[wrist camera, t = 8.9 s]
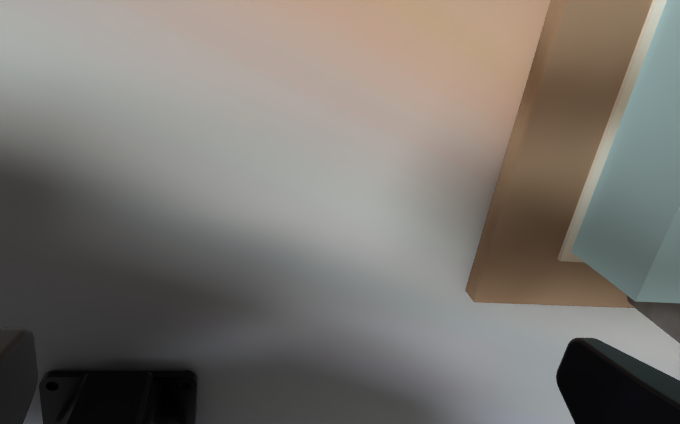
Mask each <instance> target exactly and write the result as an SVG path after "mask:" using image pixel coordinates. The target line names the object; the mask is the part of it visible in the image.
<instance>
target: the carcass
mask: <svg viewBox="0 0 680 424" xmlns="http://www.w3.org/2000/svg"><path fill="white" fill-rule="evenodd" d="M666 1H667V0H551V3H550V6H549V9H548V13H547V16H546V19H545V23H544V26H543V30H542V33H541V36H540V40H539V43H538V46H537V50H536V53H535V57H534V60H533V63H532V67H531V70H530V74H529V77H528V80H527V84H526V87H525V90H524V94H523V97H522V101H521V104H520V107H519V111H518V114H517V118H516V121H515V124H514V128H513V131H512V134H511V138H510V141H509V145H508V148H507V151H506V155H505V158H504V161H503V165H502V168H501V172H500V175H499V178H498V182H497V185H496V189H495V192H494V195H493V199H492V202H491V205H490V209H489V212H488V216H487V219H486V222H485V226H484V229H483V233H482V236H481V239H480V243H479V246H478V249H477V253H476V256H475V260H474V263H473V266H472V270H471V273H470V277H469V280H468V283H467V287H466V290H465V291H466V292H467V293H468V295H469V296H470V297H471V299H472V300H473V301H474V302H483V303H512V304H541V305H569V306H598V307H626V308H636V309H637V310H638V311H640V312H641V313H642V314H644V315H645V316H646V317H647V318H649V319H650V320H651V321H652V322H654V323H655V324H656V325H657V326H659V327H660V328H661V329H662V330H664V331H665V332H666V333H667V334H669V335H670V336H671V337H673V338H674V339H675V340H676V341H678V342H679V343H680V303H660V302H635V301H634V300H633V299H631V298H630V297H629V296H627V295H626V294H625V293H624V292H622V291H621V290H620V289H618V288H617V287H616V286H615V285H613V284H612V283H611V282H609V281H608V280H607V279H606V278H604V277H603V276H602V275H600V274H599V273H598V272H597V271H595V270H594V269H593V268H591V267H590V266H589V265H588V264H586V263H585V262H584V261H582V260H581V259H580V258H579V257H577V256H576V255H575V254H573V253H572V252H571V251H572V248H573V245H574V243H575V240H576V238H577V235H578V232H579V230H580V227H581V224H582V222H583V219H584V217H585V214H586V211H587V209H588V206H589V203H590V201H591V198H592V196H593V193H594V190H595V188H596V185H597V182H598V180H599V177H600V175H601V172H602V169H603V167H604V164H605V161H606V159H607V156H608V154H609V151H610V148H611V146H612V143H613V140H614V138H615V135H616V133H617V130H618V127H619V125H620V122H621V119H622V117H623V114H624V112H625V109H626V106H627V104H628V101H629V99H630V96H631V93H632V91H633V88H634V85H635V83H636V80H637V78H638V75H639V72H640V70H641V67H642V64H643V62H644V59H645V57H646V54H647V51H648V49H649V46H650V43H651V41H652V38H653V36H654V33H655V30H656V28H657V25H658V22H659V20H660V17H661V15H662V12H663V9H664V7H665V4H666Z"/></svg>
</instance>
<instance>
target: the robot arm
mask: <svg viewBox="0 0 680 424" xmlns="http://www.w3.org/2000/svg"><path fill="white" fill-rule="evenodd" d="M37 379H38V370H37V361H36V351H35V342H34V336H33V333H32V331H30V330H29V329H27V328H0V424H23V422H24V419H25V417H26V414H27V411H28V408H29V406H30V403H31V400H32V397H33V395H34V392H35V389H36V385H37ZM556 379H557V385H558V387H559V390H560V392H561V394H562V396H563V398H564V401H565V403H566V405H567V407H568V409H569V411H570V413H571V416H572V418H573V420H574V422H575V424H680V381H679V380H677V379H675V378H673V377H671V376H669V375H667V374H665V373H663V372H661V371H659V370H657V369H655V368H653V367H651V366H649V365H647V364H645V363H643V362H641V361H639V360H637V359H635V358H633V357H631V356H629V355H627V354H625V353H623V352H621V351H620V350H618V349H616V348H614V347H612V346H610V345H608V344H606V343H604V342H602V341H600V340H597V339H594V338H575V339H572V340H571V341H570V342H569V344H568V346H567V348H566V351H565V353H564V356H563V358H562V361H561V363H560V365H559V368H558V370H557V375H556ZM183 381H188V382H190V383H187V384H186V383H183ZM51 382H56V383H57V384H52V383H51ZM197 386H198V377H197V375H196V374H195V373H194V372H192V371H50V372H48V373H46V374H45V375H44V376H43V378H42V380H41V382H40V385H39V388H40V398H41V407H42V416H43V424H196V405H197Z"/></svg>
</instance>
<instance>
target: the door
mask: <svg viewBox="0 0 680 424" xmlns="http://www.w3.org/2000/svg"><path fill="white" fill-rule="evenodd" d="M571 252H572V253H573V254H575V255H576V256H577V257H579V258H580V259H581V260H582V261H584V262H585V263H586V264H588V265H589V266H590V267H591V268H593V269H594V270H595V271H597V272H598V273H599V274H600V275H602V276H603V277H604V278H606V279H607V280H608V281H609V282H611V283H612V284H613V285H615V286H616V287H617V288H618V289H620V290H621V291H622V292H624V293H625V294H626V295H627V296H629V297H630V298H631V299H633V300H634V301H635V302H660V303H680V0H667V1H666V4H665V7H664V9H663V12H662V15H661V17H660V20H659V22H658V25H657V28H656V30H655V33H654V36H653V38H652V41H651V43H650V46H649V49H648V51H647V54H646V57H645V59H644V62H643V64H642V67H641V70H640V72H639V75H638V78H637V80H636V83H635V85H634V88H633V91H632V93H631V96H630V99H629V101H628V104H627V106H626V109H625V112H624V114H623V117H622V119H621V122H620V125H619V127H618V130H617V133H616V135H615V138H614V140H613V143H612V146H611V148H610V151H609V154H608V156H607V159H606V161H605V164H604V167H603V169H602V172H601V175H600V177H599V180H598V182H597V185H596V188H595V190H594V193H593V196H592V198H591V201H590V203H589V206H588V209H587V211H586V214H585V217H584V219H583V222H582V224H581V227H580V230H579V232H578V235H577V238H576V240H575V243H574V245H573V248H572V251H571Z"/></svg>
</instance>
